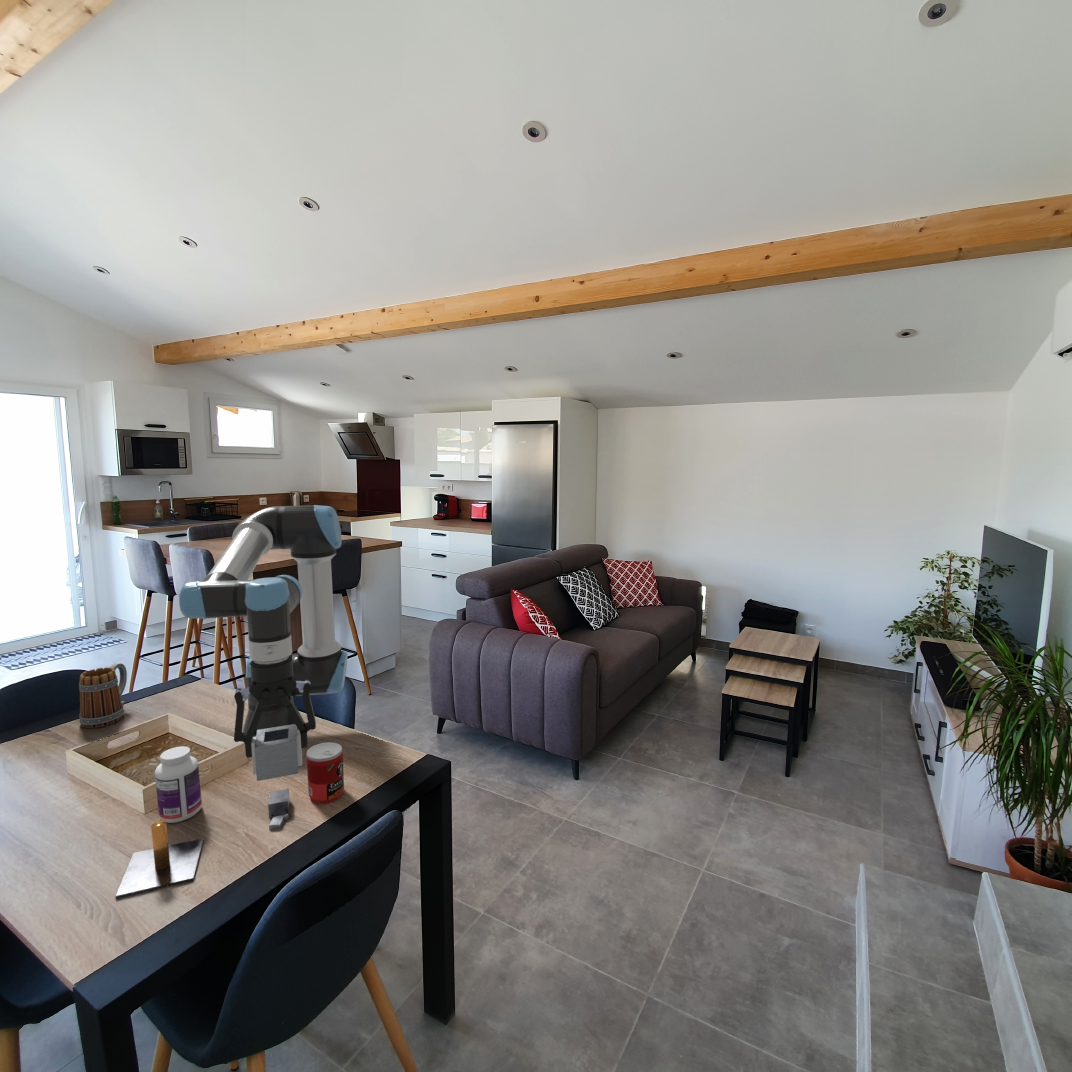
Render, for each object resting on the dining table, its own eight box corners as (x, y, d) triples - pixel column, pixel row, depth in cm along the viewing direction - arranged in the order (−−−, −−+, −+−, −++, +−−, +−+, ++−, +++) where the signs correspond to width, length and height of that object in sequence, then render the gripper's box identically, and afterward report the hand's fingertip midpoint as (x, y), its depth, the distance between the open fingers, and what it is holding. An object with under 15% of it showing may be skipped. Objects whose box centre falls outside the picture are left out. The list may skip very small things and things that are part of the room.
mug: (106, 729, 165) (101, 679, 163) (70, 729, 165) (64, 679, 163) (144, 705, 180) (140, 659, 178) (111, 705, 180) (106, 659, 178)
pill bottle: (196, 798, 132) (191, 739, 130) (206, 814, 126) (201, 752, 124) (155, 813, 126) (149, 752, 124) (164, 830, 121) (158, 766, 119)
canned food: (333, 806, 129) (331, 760, 128) (301, 801, 131) (298, 756, 129) (350, 787, 137) (349, 743, 135) (320, 783, 138) (318, 740, 137)
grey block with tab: (270, 804, 130) (269, 792, 129) (289, 800, 131) (288, 788, 131) (267, 831, 120) (266, 818, 120) (288, 827, 122) (287, 814, 122)
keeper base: (133, 855, 113) (129, 813, 112) (203, 840, 118) (200, 800, 116) (115, 899, 102) (110, 852, 101) (193, 880, 106) (189, 836, 105)
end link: (259, 761, 118) (257, 729, 117) (298, 755, 120) (296, 723, 119) (256, 781, 111) (254, 747, 110) (298, 773, 114) (296, 740, 113)
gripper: (209, 671, 105) (218, 787, 108) (327, 657, 112) (332, 766, 116) (215, 658, 112) (223, 767, 115) (325, 645, 119) (331, 748, 123)
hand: (278, 766), depth 116 cm, fingers closed on end link, 7 cm apart
